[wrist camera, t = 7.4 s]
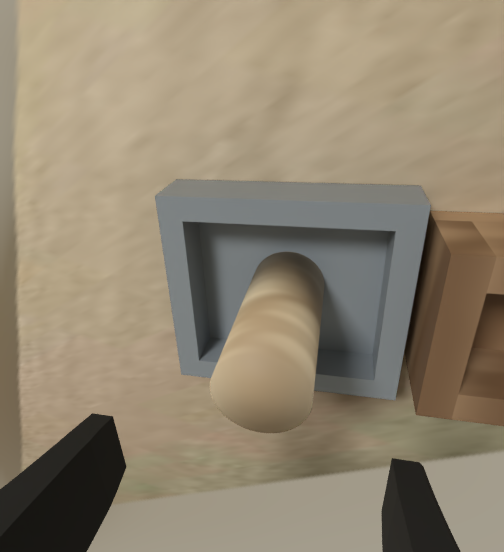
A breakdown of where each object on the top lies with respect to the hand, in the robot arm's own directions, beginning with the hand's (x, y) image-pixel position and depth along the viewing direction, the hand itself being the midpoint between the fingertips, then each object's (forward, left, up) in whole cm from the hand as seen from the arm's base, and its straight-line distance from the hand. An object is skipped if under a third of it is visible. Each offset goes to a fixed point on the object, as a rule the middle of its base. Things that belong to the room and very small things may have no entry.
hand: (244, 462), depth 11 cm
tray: (0, 0, -10) cm, 10 cm away
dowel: (0, 0, -9) cm, 9 cm away
